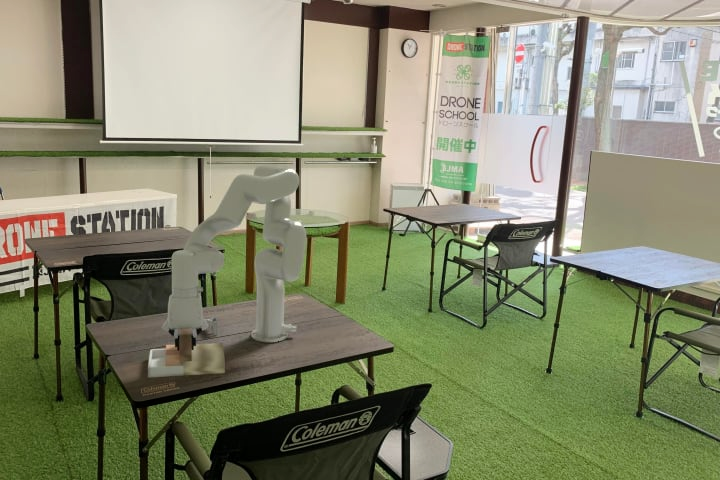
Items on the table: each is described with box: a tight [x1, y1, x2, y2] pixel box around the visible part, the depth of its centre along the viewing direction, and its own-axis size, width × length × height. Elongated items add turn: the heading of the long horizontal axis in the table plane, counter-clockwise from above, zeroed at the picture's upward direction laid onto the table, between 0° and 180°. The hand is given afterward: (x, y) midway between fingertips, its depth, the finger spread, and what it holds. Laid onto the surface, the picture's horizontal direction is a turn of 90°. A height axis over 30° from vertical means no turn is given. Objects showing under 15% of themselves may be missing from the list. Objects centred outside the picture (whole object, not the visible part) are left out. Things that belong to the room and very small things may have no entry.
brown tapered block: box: [179, 328, 192, 362], centre depth 191 cm, size 4×12×6 cm, turn 15°
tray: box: [147, 348, 185, 378], centre depth 191 cm, size 10×14×3 cm
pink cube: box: [165, 343, 179, 355], centre depth 195 cm, size 4×4×4 cm
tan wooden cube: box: [165, 355, 180, 366], centre depth 188 cm, size 4×4×4 cm
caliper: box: [204, 317, 218, 336], centre depth 225 cm, size 20×1×6 cm, turn 39°
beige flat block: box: [183, 342, 226, 376], centre depth 194 cm, size 12×14×4 cm
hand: (185, 348), depth 192 cm, fingers closed on brown tapered block, 3 cm apart
